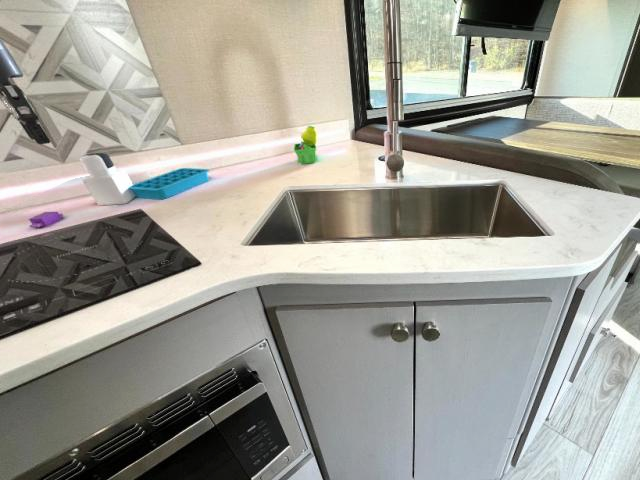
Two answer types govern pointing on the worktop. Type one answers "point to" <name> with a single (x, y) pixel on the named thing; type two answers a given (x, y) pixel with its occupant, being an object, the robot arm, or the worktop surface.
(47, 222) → the candy
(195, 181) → the ice cube tray
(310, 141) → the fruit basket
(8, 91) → the robot arm
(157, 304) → the worktop surface
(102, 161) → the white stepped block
